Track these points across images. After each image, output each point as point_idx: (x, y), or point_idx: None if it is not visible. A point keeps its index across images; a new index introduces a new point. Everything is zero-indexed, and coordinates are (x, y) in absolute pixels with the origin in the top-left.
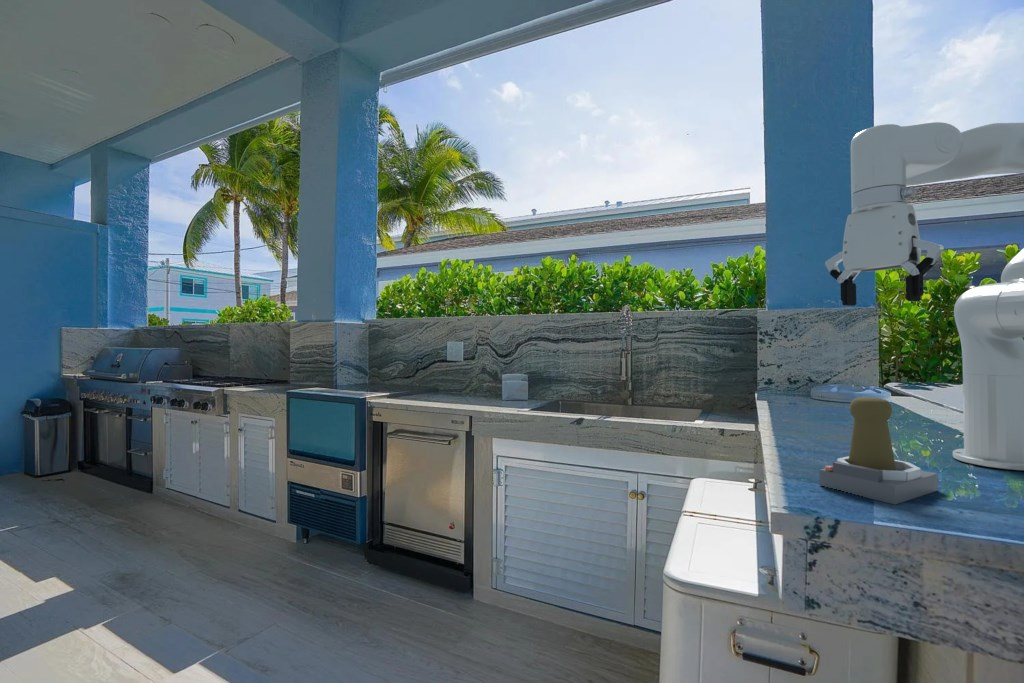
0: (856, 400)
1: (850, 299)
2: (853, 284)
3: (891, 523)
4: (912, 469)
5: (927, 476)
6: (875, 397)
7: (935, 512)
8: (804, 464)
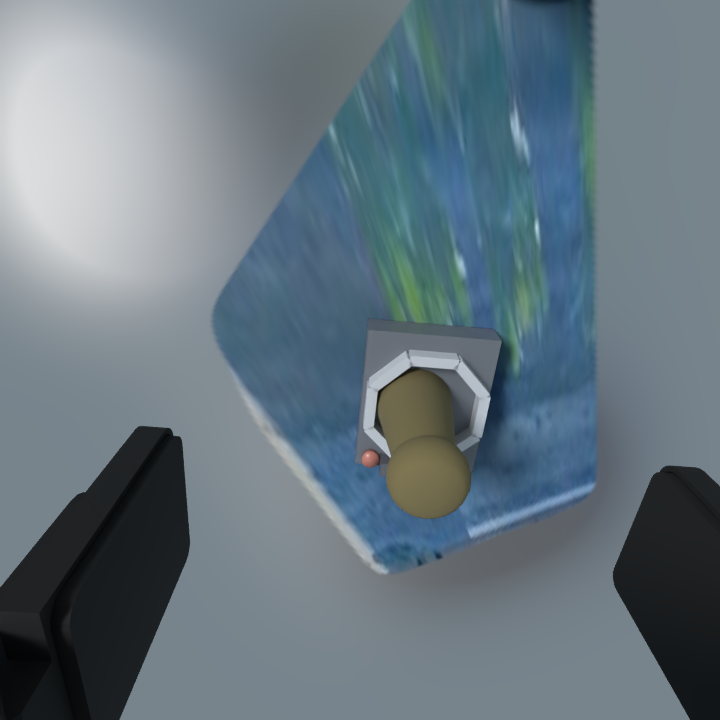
0: (410, 514)
1: (171, 545)
2: (83, 650)
3: (485, 524)
4: (482, 412)
5: (493, 376)
6: (440, 486)
7: (513, 447)
8: (254, 324)
